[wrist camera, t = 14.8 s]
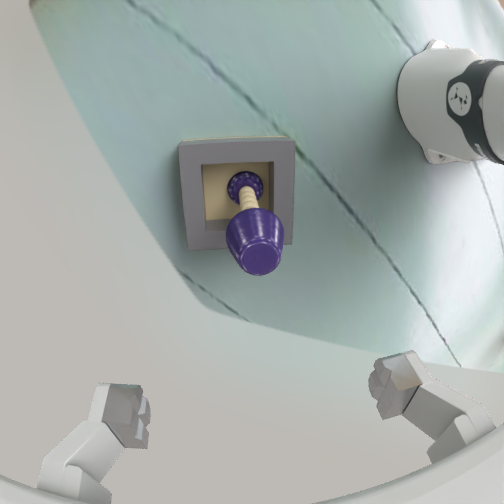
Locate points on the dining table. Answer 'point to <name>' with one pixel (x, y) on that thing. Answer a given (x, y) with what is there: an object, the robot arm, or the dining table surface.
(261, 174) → the socket block
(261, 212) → the toy lamp
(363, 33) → the dining table surface
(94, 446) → the robot arm
